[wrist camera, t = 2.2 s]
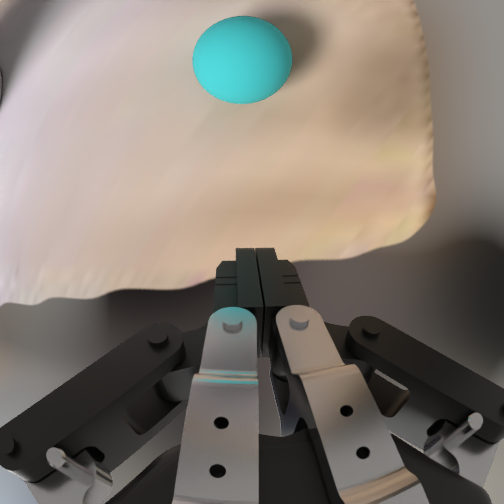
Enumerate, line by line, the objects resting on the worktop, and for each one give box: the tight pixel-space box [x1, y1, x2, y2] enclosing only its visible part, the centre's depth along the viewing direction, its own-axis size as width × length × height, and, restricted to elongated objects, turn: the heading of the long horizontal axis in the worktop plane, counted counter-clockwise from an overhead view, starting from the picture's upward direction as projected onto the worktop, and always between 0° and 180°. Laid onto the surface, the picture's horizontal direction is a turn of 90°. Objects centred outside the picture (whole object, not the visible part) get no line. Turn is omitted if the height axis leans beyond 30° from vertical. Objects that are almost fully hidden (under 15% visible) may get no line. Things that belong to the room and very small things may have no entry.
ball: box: [193, 16, 292, 104], centre depth 14 cm, size 6×6×6 cm
